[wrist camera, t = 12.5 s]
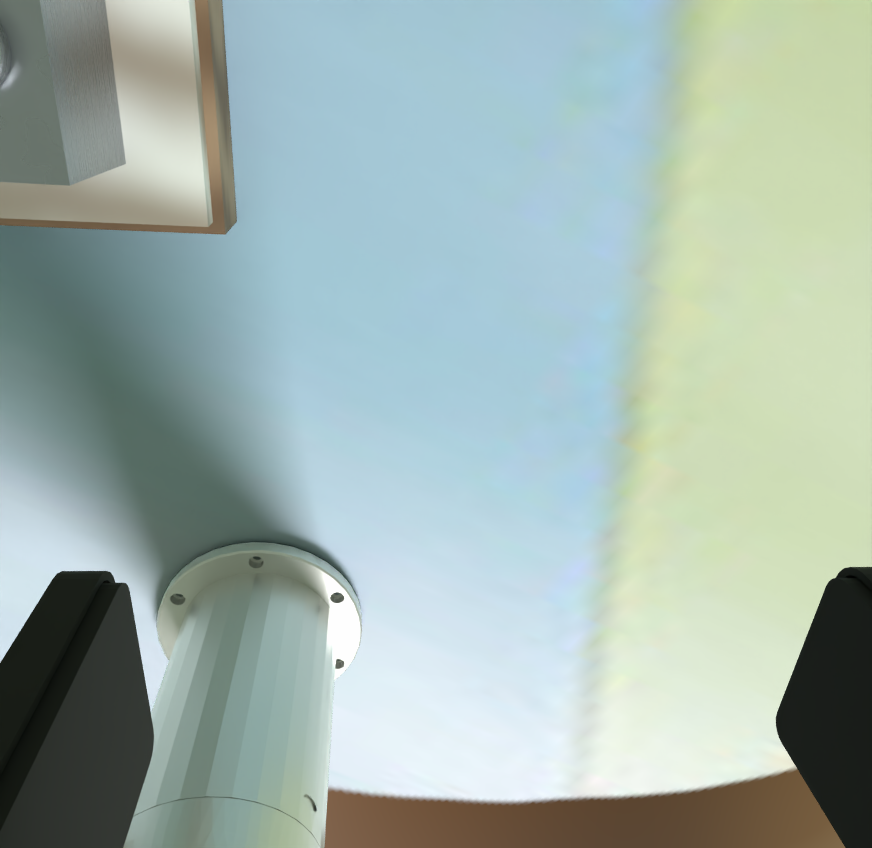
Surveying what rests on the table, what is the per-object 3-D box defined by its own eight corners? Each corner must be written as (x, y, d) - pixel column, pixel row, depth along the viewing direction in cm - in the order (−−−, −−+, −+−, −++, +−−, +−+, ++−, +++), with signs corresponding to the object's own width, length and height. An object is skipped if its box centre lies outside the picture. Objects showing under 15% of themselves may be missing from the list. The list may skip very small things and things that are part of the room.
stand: (236, 221, 34) (221, 239, 30) (-27, 210, 33) (-76, 227, 29) (212, -142, 28) (189, -174, 24) (-115, -173, 26) (-191, -211, 23)
